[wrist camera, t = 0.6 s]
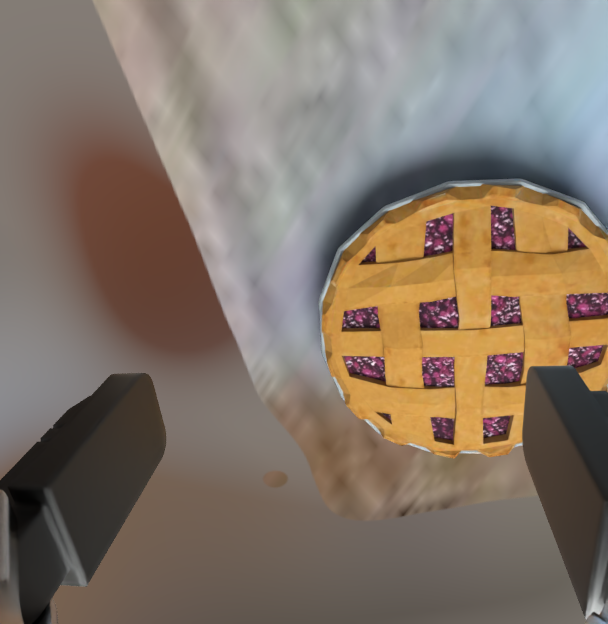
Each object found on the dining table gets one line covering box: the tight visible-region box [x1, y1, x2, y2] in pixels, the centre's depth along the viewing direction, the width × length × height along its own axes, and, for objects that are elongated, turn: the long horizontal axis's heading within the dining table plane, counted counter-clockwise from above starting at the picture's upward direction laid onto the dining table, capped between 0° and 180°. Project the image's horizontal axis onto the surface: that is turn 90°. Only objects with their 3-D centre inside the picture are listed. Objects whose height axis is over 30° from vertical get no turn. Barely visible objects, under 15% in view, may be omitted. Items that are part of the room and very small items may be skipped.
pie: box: [318, 178, 608, 458], centre depth 37 cm, size 22×22×5 cm
